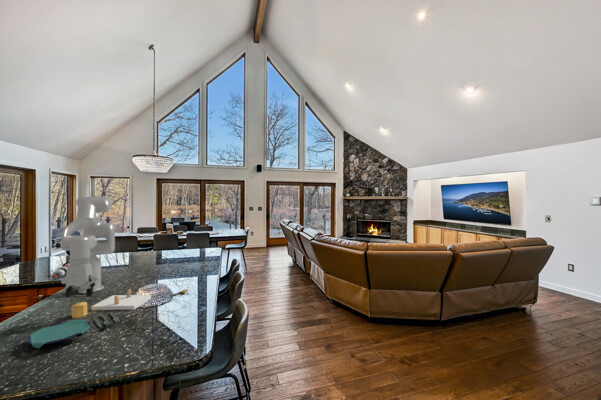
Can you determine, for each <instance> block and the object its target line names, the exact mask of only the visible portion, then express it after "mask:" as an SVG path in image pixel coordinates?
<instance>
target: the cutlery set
mask: <svg viewBox="0 0 601 400" xmlns="http://www.w3.org/2000/svg"><path fill="white" fill-rule="evenodd" d="M109 315H110V316H111V317H112V320H111V319H107V317H106V316H105V315H104V314H103V313H101V314H100V316H101V318H102V319H103V320H104V321H103V325H105V326H108V325H111V324H112V323H113V321H114V322H115V323H119V322H121V320H120V319H119V317H118V316H115V315H114V314H113V312H112V311H109ZM92 319H93V320H94V321H95V324H96V325H97V327H98V328H102V325H101V324H100V321H99V319H96V317H95V316H93V317H92ZM90 328H91V322H90V321H89V320H86V319H73V320H68V321H64V322H60V323H56V324H54V325H53V324H52V325H50V326H47V327H42V328H40V329H38V330H36V331H34V332H32V333H31V334H29V336H28V337H27V338H26V342H27V343H28V344H30V345H31V346H32V347H33V348H36V349H40V348H41V347H42V346H44V345H48V344H54V343H57V342H61V341H66V340H67V339H68V340H69V339H70V338H74V337H76V336H78V335H80V334H82V335H83V334H84V333H86V332H88V331H89V330H90Z"/></svg>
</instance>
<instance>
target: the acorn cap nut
mask: <svg viewBox="0 0 601 400" xmlns="http://www.w3.org/2000/svg"><path fill="white" fill-rule="evenodd" d="M87 315H88V302H87V301H82V302H80V301H79V302H77V303H74V304H72V306H71V317H72V319H78V318H79V319H80V318H82V317H85V316H87Z"/></svg>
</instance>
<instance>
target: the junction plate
mask: <svg viewBox="0 0 601 400" xmlns="http://www.w3.org/2000/svg"><path fill="white" fill-rule="evenodd" d="M151 299H152V294H132V289H126V294H125V295H124V294H121V295H120V294H119V295H117V294H116V295H111V296H109V297H107V298H105V299H103V300H101V301H99V302H97V303H95V304H93V305H92V306H90V310H91V311H120V310H121V311H123V310H126V311H128V310H136V309H137V308H139V307H140V306H142V305H143V304H144V303H146V302H147V301H149V300H151Z"/></svg>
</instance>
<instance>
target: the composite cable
mask: <svg viewBox="0 0 601 400" xmlns="http://www.w3.org/2000/svg"><path fill="white" fill-rule="evenodd" d="M188 291H189V289H187V288H184V289H182V290H181V291H179V292H176V293H174V294H171V297H172V298H173V297H176V296H178V295H182V294H181V293H185V292H186V293H187V292H188ZM186 293H185V294H186Z"/></svg>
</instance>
